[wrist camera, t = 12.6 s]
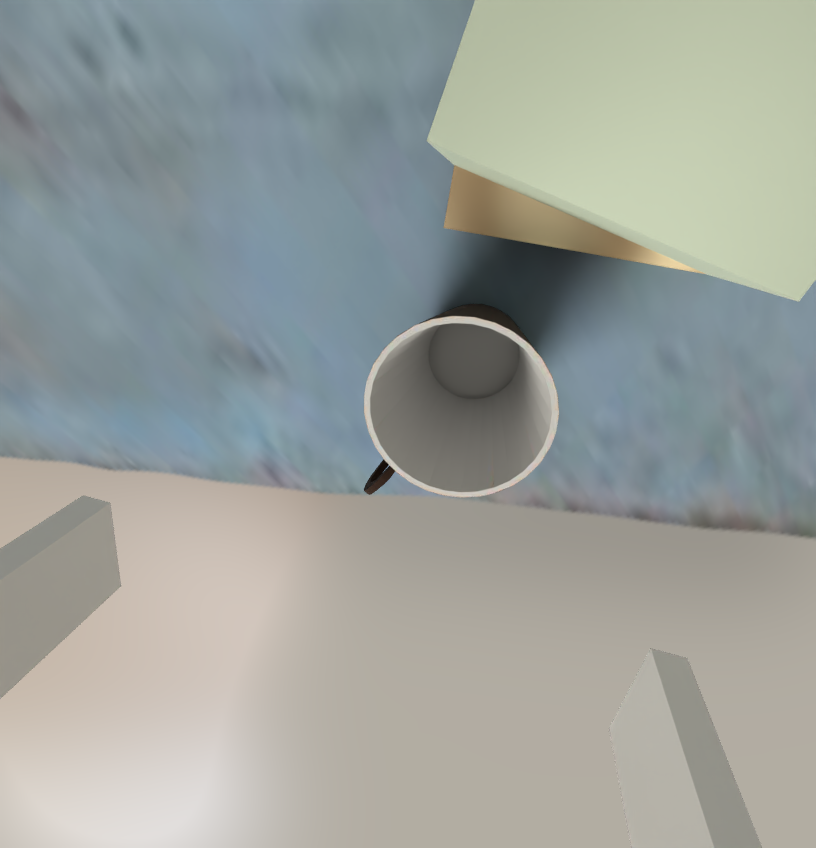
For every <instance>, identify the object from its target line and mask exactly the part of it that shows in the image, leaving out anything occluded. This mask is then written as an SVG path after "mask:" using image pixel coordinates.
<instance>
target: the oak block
mask: <svg viewBox="0 0 816 848" xmlns="http://www.w3.org/2000/svg"><path fill="white" fill-rule="evenodd" d="M444 228H448V229H453V230H459V231H465V232H470V233H476V234H482V235H487V236H493V237H499V238H504V239H510V240H516V241H521V242H527V243H533V244H538V245H544V246H550V247H555V248H561V249H567V250H572V251H578V252H584V253H590V254H595V255H601V256H607V257H612V258H618V259H624V260H629V261H635V262H641V263H646V264H652V265H658V266H663V267H669V268H675V269H680V270H686V271H692V272H697V273H703V272H701V271H698V270H696V269H694V268H691V267H689V266H687V265H684V264H682V263H680V262H677V261H675V260H673V259H670V258H668V257H666V256H664V255H661V254H659V253H657V252H654V251H652V250H650V249H647V248H645V247H643V246H640V245H638V244H636V243H633V242H631V241H629V240H627V239H624V238H622V237H620V236H617V235H615V234H613V233H610V232H608V231H606V230H603V229H601V228H599V227H596V226H594V225H592V224H590V223H587V222H585V221H583V220H580V219H578V218H576V217H573V216H571V215H569V214H566V213H564V212H562V211H560V210H557V209H555V208H553V207H550V206H548V205H546V204H543V203H541V202H539V201H536V200H534V199H532V198H529V197H527V196H525V195H523V194H520V193H518V192H516V191H513V190H511V189H509V188H506V187H504V186H502V185H499V184H497V183H495V182H492V181H490V180H488V179H486V178H483V177H481V176H479V175H476V174H474V173H472V172H469V171H467V170H465V169H462V168H460V167H458V166H455V165H454V171H453V177H452V183H451V188H450V194H449V200H448V206H447V212H446V217H445V223H444ZM703 274H705V273H703Z"/></svg>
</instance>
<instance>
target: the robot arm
mask: <svg viewBox="0 0 816 848" xmlns="http://www.w3.org/2000/svg"><path fill="white" fill-rule="evenodd" d="M119 587H121V582H120V574H119V567H118V559H117V552H116V544H115V535H114V528H113V520H112V512H111V505H110V503H109V502H105V501H102V500H98V499H94V498H91V497H87V496H81V497H80V498H78V499H77V500H75V501H74V502H72V503H71V504H69V505H67V506H66V507H65V508H63V509H61V510H60V511H58V512H57V513H55V514H54V515H52V516H50V517H49V518H47V519H46V520H44V521H43V522H41V523H39V524H38V525H36V526H35V527H33V528H32V529H30V530H29V531H27V532H25V533H24V534H22V535H21V536H19V537H18V538H16V539H15V540H13V541H12V542H10V543H9V544H7V545H5V546H4V547H2V548H0V699H1V698H2V697H3V696H4V695H5V694H6V693H7V692H8V691H9V690H10V689H11V688H12V687H13V686H15V685H16V684H17V683H18V682H19V681H20V680H21V679H22V678H23V677H24V676H25V675H26V674H27V673H29V671H31V670H32V669H33V668H34V667H35V666H36V665H37V664H38V663H39V662H40V661H41V660H42V659H43V658H45V656H47V655H48V654H49V653H50V652H51V651H52V650H53V649H54V648H55V647H56V646H57V645H58V644H59V643H60V642H62V641H63V640H64V639H65V638H66V637H67V636H68V635H69V634H70V633H71V632H72V631H73V630H75V629H76V627H78V626H79V625H80V624H81V623H82V622H83V621H84V620H85V619H86V618H87V617H88V616H89V615H91V614H92V613H93V612H94V611H95V610H96V609H97V608H98V607H99V606H100V605H101V604H102V603H103V602H104V601H106V600H107V599H108V598H109V597H110V596H111V595H112V594H113V593H114V592H115V591H116V590H117V589H118V588H119ZM609 731H610V736H611V742H612V747H613V753H614V758H615V763H616V769H617V774H618V779H619V784H620V790H621V796H622V801H623V806H624V812H625V817H626V822H627V828H628V833H629V838H630V843H631V848H762V846H761V844H760V841H759V839H758V836H757V834H756V831H755V828H754V826H753V823H752V821H751V818H750V816H749V813H748V811H747V808H746V806H745V803H744V801H743V798H742V796H741V793H740V791H739V788H738V785H737V783H736V780H735V778H734V775H733V773H732V770H731V768H730V765H729V763H728V760H727V758H726V755H725V752H724V750H723V747H722V745H721V742H720V740H719V737H718V735H717V732H716V730H715V727H714V725H713V722H712V720H711V717H710V715H709V712H708V709H707V707H706V704H705V702H704V699H703V697H702V694H701V692H700V689H699V687H698V684H697V681H696V679H695V676H694V674H693V671H692V669H691V666H690V664H689V662H688V659H687V658H685V657H681V656H678V655H673V654H670V653H666V652H662V651H659V650H655V649H650V650H649V652H648V654H647V656H646V658H645V660H644V662H643V664H642V666H641V668H640V670H639V671H638V674H637V675H636V677H635V679H634V681H633V683H632V685H631V687H630V689H629V691H628V693H627V695H626V697H625V698H624V700H623V702H622V704H621V706H620V708H619V710H618V712H617V714H616V716H615V718H614V719H613V721H612V723H611V726H610V727H609Z"/></svg>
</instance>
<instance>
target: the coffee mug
mask: <svg viewBox="0 0 816 848" xmlns="http://www.w3.org/2000/svg"><path fill="white" fill-rule="evenodd" d="M364 414H365V419H366V423H367V428H368V431H369V434H370V436H371V438H372V440H373V443H374V445H375V447H376V448H377V450H378V451H379V453H380V454H381V456H382V457H383V461H382V462H381V463H380V465H379V466H378V467H377V469H376V470H375V471H374V472H373V474H372V475H371V477H370V478H369V480H368V481H367V483H366V485H365V488H364V491H365V492H366V493H367V494H369V495H370V494H372V493H374V492H375V491H376V490H378V489H379V488H380V487H381V486H382V485H384V484H385V483H386V482H387V481H388V480H389V479H390V477H391V476H392V475H393V473H394V472H395V471H396V472H397V473H398V474H399V475H401V476H402V477H404V478H405V479H406V480H408V481H409V482H411V483H412V484H414V485H416V486H419V487H421V488H423V489H425V490H427V491H430V492H434V493H437V494H441V495H444V496H453V497H461V498H462V497H479V496H484V495H488V494H493V493H497V492H499V491H501V490H504V489H506V488H508V487H511V486H513V485H514V484H516V483H517V482H519V481H520V480H522V479H523V478H525V477H526V476H528V475H529V474H530V473H531V472H532V471H533V470H534V469H535V468H536V467H537V466H538V465H539V464H540V462H541V461H542V459H543V458H544V456H545V455H546V453H547V452H548V450H549V449H550V446H551V444H552V441H553V438H554V436H555V433H556V430H557V423H558V416H559V407H558V394H557V391H556V387H555V384H554V381H553V377H552V375H551V373H550V371H549V370H548V368H547V366H546V364H545V362H544V361H543V359H542V358H541V356H540V355H539V354H538V352H537V351H536V350H535V348H534V347H533V346H532V344H531V343H530V342H529V341H528V339H527V338H526V337H525V335H524V334H523V333H522V331H521V330H520V329H519V328H518V326H517V325H516V324H515V323H514V321H513V320H512V319H511V318H510V317H509V316H507V315H506V314H505V313H503V312H502V311H500V310H498V309H496V308H494V307H491V306H487V305H483V304H468V305H462V306H459V307H456V308H453V309H451V310H449V311H446V312H444V313H442V314H440V315H437V316H435V317H433V318H430V319H428V320H426V321H424V322H421V323H419V324H417V325H415V326H413V327H411V328H410V329H408V330H406V331H405V332H403V333H401V334H400V335H398V336H397V337H396V338H395V339H394V340H393V341H392V342H391V343H390V344H389V345H387V346H386V347H385V348H384V350H383V351H382V352H381V354H380V355H379V357H378V358H377V360H376V361H375V363H374V364H373V367H372V369H371V372H370V374H369V377H368V379H367V383H366V389H365V394H364ZM388 465H390V466H389V467H388V468H387V466H388ZM386 468H387V469H386ZM385 469H386V470H385ZM384 470H385V471H384ZM383 471H384V472H383Z"/></svg>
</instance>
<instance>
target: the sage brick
mask: <svg viewBox="0 0 816 848" xmlns="http://www.w3.org/2000/svg"><path fill="white" fill-rule="evenodd" d="M427 142H428V143H430V144H431V145H432V146H433V147H434V148H435V149H436V150H438V151H439V152H440V153H441V154H442V155H443V156H444V157H445V158H447V159H448V160H449V161H450V162H451V163H452V164H453V165H455V166H458V167H460V168H462V169H465V170H467V171H469V172H472V173H474V174H476V175H479V176H481V177H483V178H486V179H488V180H490V181H492V182H495V183H497V184H499V185H502V186H504V187H506V188H509V189H511V190H513V191H516V192H518V193H520V194H523V195H525V196H527V197H529V198H532V199H534V200H536V201H539V202H541V203H543V204H546V205H548V206H550V207H553V208H555V209H557V210H560V211H562V212H564V213H566V214H569V215H571V216H573V217H576V218H578V219H580V220H583V221H585V222H587V223H590V224H592V225H594V226H596V227H599V228H601V229H603V230H606V231H608V232H610V233H613V234H615V235H617V236H620V237H622V238H624V239H627V240H629V241H631V242H633V243H636V244H638V245H640V246H643V247H645V248H647V249H650V250H652V251H654V252H657V253H659V254H661V255H664V256H666V257H668V258H670V259H673V260H675V261H677V262H680V263H682V264H684V265H687V266H689V267H691V268H694V269H696V270H698V271H701V272H703V273H705V274H708V275H711V276H714V277H718V278H721V279H724V280H728V281H731V282H735V283H738V284H741V285H745V286H748V287H751V288H755V289H758V290H761V291H765V292H768V293H772V294H775V295H778V296H782V297H785V298H788V299H792V300H795V301H798V302H799V301H800V299H801V298H802V297H803V295H804V294H805V293H806V291H807V290H808V289H809V288H810V286H811V285H812V284H813V282H814V281H815V280H816V0H475V3H474V5H473V8H472V11H471V14H470V17H469V20H468V23H467V26H466V29H465V31H464V34H463V37H462V40H461V43H460V46H459V49H458V52H457V55H456V57H455V60H454V63H453V66H452V69H451V72H450V75H449V78H448V81H447V83H446V86H445V89H444V92H443V95H442V98H441V101H440V104H439V107H438V109H437V112H436V115H435V118H434V121H433V124H432V127H431V130H430V133H429V135H428V138H427Z"/></svg>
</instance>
